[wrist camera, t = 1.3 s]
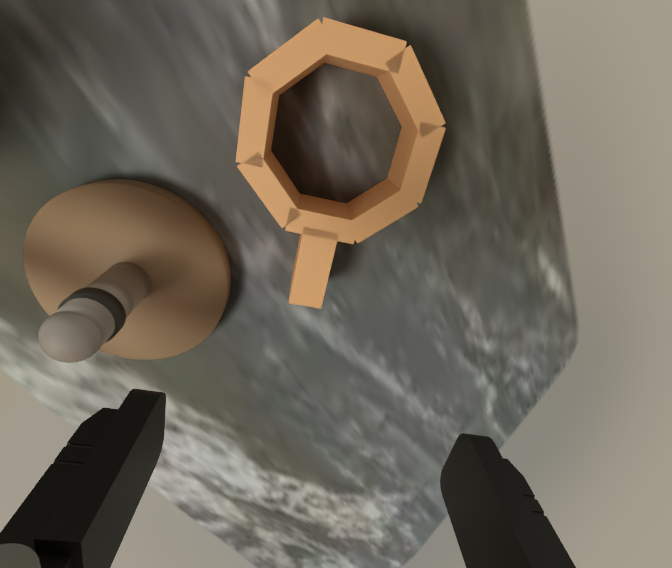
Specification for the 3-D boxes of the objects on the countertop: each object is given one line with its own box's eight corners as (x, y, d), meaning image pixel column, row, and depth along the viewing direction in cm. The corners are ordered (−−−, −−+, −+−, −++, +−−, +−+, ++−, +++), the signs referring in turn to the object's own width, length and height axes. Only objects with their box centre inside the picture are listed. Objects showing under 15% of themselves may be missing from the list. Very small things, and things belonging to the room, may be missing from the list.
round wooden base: (31, 158, 20) (-138, 190, 12) (241, 202, 21) (203, 254, 14) (50, 331, 24) (-66, 431, 17) (222, 357, 26) (186, 458, 18)
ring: (264, 16, 18) (254, -4, 14) (442, 66, 19) (468, 59, 16) (233, 265, 23) (221, 291, 20) (374, 291, 24) (383, 319, 21)
